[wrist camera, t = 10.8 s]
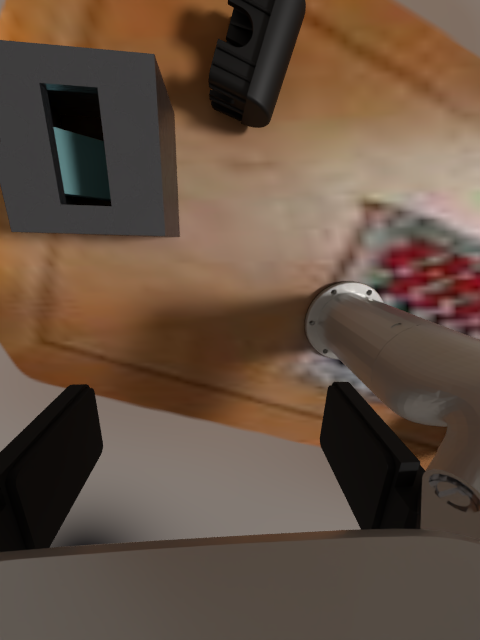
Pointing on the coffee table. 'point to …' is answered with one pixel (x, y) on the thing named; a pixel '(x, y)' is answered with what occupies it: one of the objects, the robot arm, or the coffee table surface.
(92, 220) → the box
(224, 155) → the coffee table surface
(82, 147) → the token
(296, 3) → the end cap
